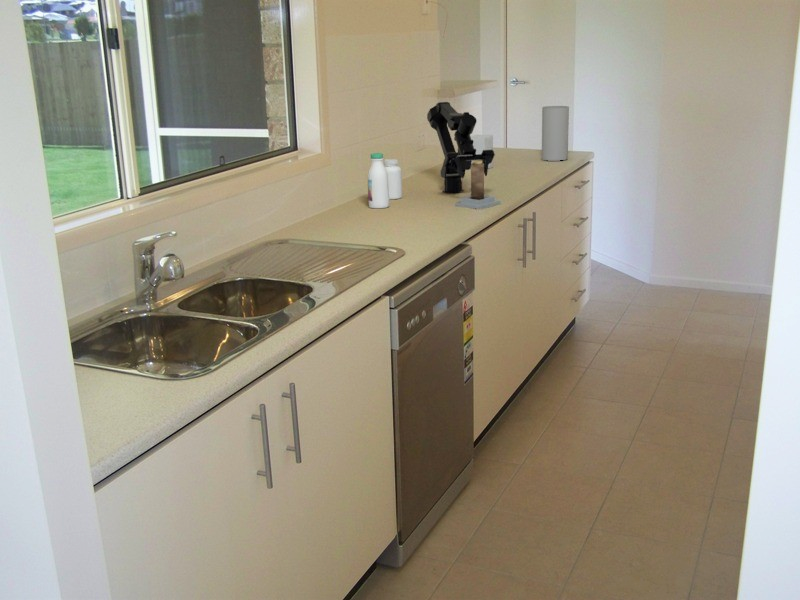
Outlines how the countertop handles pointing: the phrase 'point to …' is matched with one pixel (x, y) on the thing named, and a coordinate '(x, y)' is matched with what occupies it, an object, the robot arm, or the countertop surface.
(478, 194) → the pepper mill
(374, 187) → the milk bottle
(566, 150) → the cylinder vase
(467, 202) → the seat dish
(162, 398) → the countertop surface
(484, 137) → the supplement box
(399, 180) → the pill bottle
